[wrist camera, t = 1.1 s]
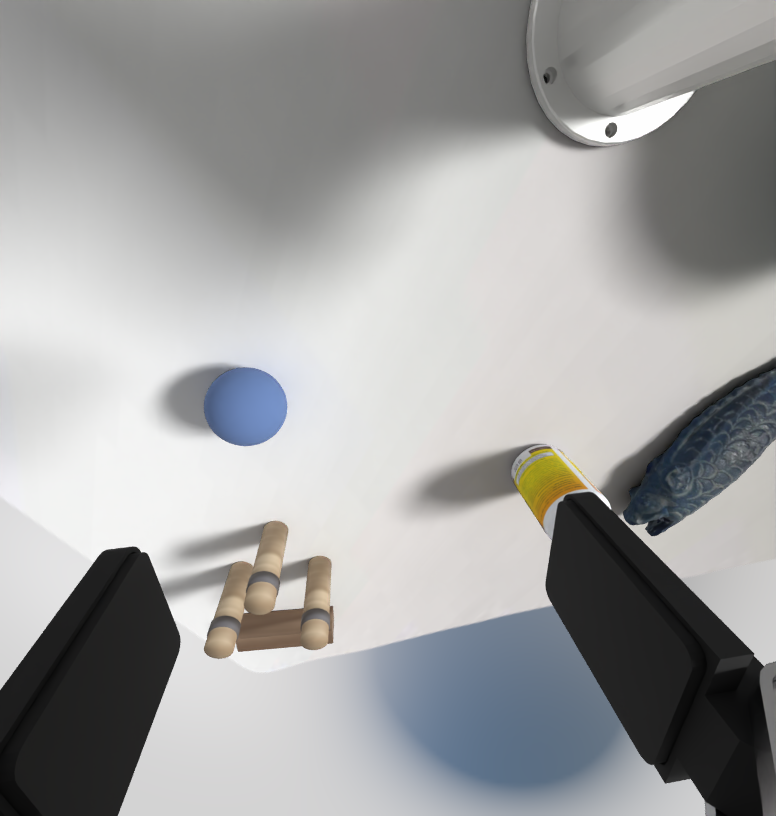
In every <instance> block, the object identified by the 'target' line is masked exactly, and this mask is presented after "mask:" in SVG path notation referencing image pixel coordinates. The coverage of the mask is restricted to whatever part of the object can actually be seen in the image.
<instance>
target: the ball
mask: <svg viewBox="0 0 776 816" xmlns="http://www.w3.org/2000/svg"><path fill="white" fill-rule="evenodd" d="M204 413H205V417H206V420H207V422H208V424H209V426H210V428H211V429H212V430H213V432H214V433H215V434H216V435H217V436H219V437H220V438H221V439H223V440H225V441H227V442H229V443H231V444H235V445H240V446H252V445H257V444H260V443H263V442H265V441H267V440H268V439H270V438H271V437H273V436H274V435H275V434H276V433H277V432H278V431H279V429H280V428H281V427H282V425H283V423H284V420H285V418H286V414H287V400H286V396H285V393H284V391H283V389H282V387H281V386H280V384H279V383H278V382H277V381H276V379H274V378H273V377H272V376H271V375H269V374H268V373H266V372H264V371H261V370H259V369H255V368H236V369H233V370H230V371H227V372H225V373H223V374H222V375H220V376H219V377H218V378H217V379H216V380H215V381H214V382H213V383H212V384H211V386H210V387H209V389H208V391H207V393H206V396H205V401H204Z"/></svg>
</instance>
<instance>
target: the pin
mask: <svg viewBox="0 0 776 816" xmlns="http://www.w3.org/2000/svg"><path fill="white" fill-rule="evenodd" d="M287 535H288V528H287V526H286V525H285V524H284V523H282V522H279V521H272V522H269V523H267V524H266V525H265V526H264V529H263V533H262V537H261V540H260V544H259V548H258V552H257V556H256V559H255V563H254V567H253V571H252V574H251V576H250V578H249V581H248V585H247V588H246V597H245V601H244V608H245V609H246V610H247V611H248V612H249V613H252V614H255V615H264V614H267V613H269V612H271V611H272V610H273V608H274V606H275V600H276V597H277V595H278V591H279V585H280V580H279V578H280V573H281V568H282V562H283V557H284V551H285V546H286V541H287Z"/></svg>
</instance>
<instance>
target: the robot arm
mask: <svg viewBox="0 0 776 816" xmlns="http://www.w3.org/2000/svg"><path fill="white" fill-rule="evenodd" d="M526 40H527V63H528V68H529V74H530V79H531V84H532V87H533V89H534V92H535V95H536V98H537V100H538V103H539V104H540V106H541V108H542V109H543V111H544V113H545V114H546V116H547V118H548V119H549V120H550V121H551V122H552V123H553V124H554V125H555V126H556V128H557V129H558V130H559V131H561V132H562V133H564V134H565V135H567V136H568V137H570V138H571V139H573V140H575V141H578V142H581V143H584V144H586V145H592V146H604V147H605V146H612V145H618V144H623V143H626V142H629V141H633V140H636V139H639V138H641V137H643V136H645V135H647V134H649V133H651V132H653V131H655V130H656V129H658V128H659V127H660V126H662V125H663V124H664V123H666V122H667V121H668V120H670V119H671V118H672V117H673V116H674V115H675V114H676V113H677V112H678V111H679V110H680V109H681V108H682V107H683V106H684V105H685V104H686V103H687V102H688V101H689V99H690V98H691V97H692V96H693V94H694V93H695V92H696V90H697V89H699V88H702V87H705V86H707V85H710V84H712V83H715V82H718V81H720V80H723V79H726V78H728V77H731V76H734V75H736V74H739V73H742V72H744V71H747V70H750V69H752V68H755V67H758V66H760V65H763V64H766V63H768V62H771V61H774V60H776V0H532V2H531V6H530V10H529V18H528V27H527V35H526ZM543 76H546V78H547V83H545V81H544V78H543ZM605 130H606V135H605ZM546 591H547V595H548V597H549V599H550V601H551V603H552V605H553V606H554V608H555V610H556V612H557V613H558V615H559V617H560V618H561V620H562V622H563V624H564V625H565V627H566V629H567V630H568V632H569V634H570V635H571V637H572V639H573V640H574V642H575V644H576V646H577V648H578V649H579V651H580V653H581V654H582V656H583V658H584V659H585V661H586V663H587V665H588V666H589V668H590V670H591V672H592V673H593V675H594V677H595V678H596V680H597V682H598V684H599V685H600V687H601V689H602V690H603V692H604V694H605V696H606V697H607V699H608V701H609V702H610V704H611V706H612V708H613V709H614V711H615V713H616V714H617V716H618V718H619V720H620V721H621V723H622V725H623V727H624V728H625V730H626V731H627V733H628V735H629V737H630V739H631V740H632V742H633V743H634V745H635V747H636V749H637V751H638V752H639V754H640V755H641V757H642V758H643V759H644V760H645V761H646V762H647V763H648V764H650V765H654V766H655V767H656V769H657V771H658V772H659V774H660V776H661V777H662V779H663V781H664V782H665V783H671V782H676V781H681V780H686V779H691V780H692V781H693V783H694V784H695V786H696V787H697V789H698V791H699V792H700V794H701V795H702V797H703V798H704V800H705V815H706V816H776V662H773V663H769V664H766V665H765V667H764V666H763V665H762V664H761V663H760V662H759V661H758V660H757V659H756V658H755V657H754V653H753V652H752V651H751V650H750V649H749V648H748V647H747V646H746V645H745V644H744V643H743V642H742V641H741V640H740V639H739V638H738V637H737V636H736V635H735V634H734V633H733V632H732V631H731V630H730V629H729V628H728V627H727V626H726V625H725V624H724V623H723V622H722V621H721V620H720V619H719V618H718V617H717V616H716V615H715V614H714V613H713V612H712V611H711V610H710V609H709V608H708V607H707V606H706V605H705V604H704V603H703V602H702V601H701V600H700V599H699V598H698V597H697V596H696V595H695V594H694V593H693V592H692V591H691V590H690V589H689V588H688V587H687V586H686V584H684V582H683V581H682V580H681V579H680V578H679V577H678V576H677V575H676V574H675V573H674V572H673V571H672V570H671V569H670V568H669V567H668V566H667V565H666V564H665V563H664V562H663V561H662V560H661V559H660V558H659V557H658V556H657V555H656V554H655V553H654V552H653V551H652V550H651V549H650V548H649V547H648V546H647V545H646V544H645V543H644V542H643V541H642V540H641V539H640V538H639V537H638V536H637V535H636V534H635V533H634V532H633V531H632V530H631V529H630V528H629V527H628V526H627V525H626V524H625V523H624V522H623V521H622V520H621V519H620V518H619V517H618V516H617V515H616V514H615V513H614V512H613V511H612V510H611V509H610V508H609V507H608V506H607V505H606V504H605V503H604V502H603V501H602V500H601V499H600V498H599V497H598V496H597V495H596V494H595V493H593V492H590V491H589V492H581V493H573V494H567V495H565V497H564V499H563V501H560V502H559V503H558V505H557V511H556V517H555V524H554V530H553V537H552V544H551V550H550V557H549V563H548V570H547V577H546ZM179 648H180V635H179V632H178V629H177V627H176V624H175V622H174V619H173V617H172V614H171V611H170V609H169V606H168V604H167V601H166V599H165V596H164V594H163V591H162V589H161V586H160V583H159V581H158V578H157V576H156V573H155V571H154V568H153V566H152V563H151V561H150V558H149V556H148V554H147V553H145V552H142V553H141V551H140V550H139V549H138V548H137V547H126V548H117V549H109V550H105V551H103V552H102V553H101V554H100V555H99V556H98V558H97V559H96V561H95V562H94V563H93V565H92V566H91V567H90V569H89V570H88V571H87V573H86V574H85V576H84V577H83V578H82V580H81V581H80V583H79V584H78V585H77V586H76V588H75V589H74V591H73V592H72V593H71V595H70V596H69V597H68V599H67V600H66V601H65V603H64V604H63V606H62V607H61V608H60V610H59V611H58V612H57V614H56V615H55V616H54V618H53V619H52V621H51V622H50V623H49V625H48V626H47V627H46V629H45V630H44V631H43V633H42V634H41V636H40V637H39V638H38V640H37V641H36V642H35V644H34V645H33V646H32V648H31V649H30V650H29V652H28V653H27V655H26V656H25V657H24V659H23V660H22V661H21V663H20V664H19V665H18V667H17V668H16V670H15V671H14V672H13V674H12V675H11V676H10V678H9V679H8V680H7V682H6V683H5V685H4V686H3V687H2V689H1V690H0V816H118V814H119V811H120V808H121V806H122V803H123V800H124V797H125V795H126V792H127V790H128V787H129V784H130V782H131V779H132V776H133V773H134V771H135V768H136V766H137V763H138V760H139V758H140V755H141V752H142V749H143V747H144V744H145V741H146V739H147V736H148V733H149V731H150V728H151V725H152V723H153V720H154V717H155V714H156V712H157V709H158V707H159V704H160V701H161V699H162V696H163V693H164V691H165V688H166V685H167V682H168V680H169V677H170V675H171V672H172V669H173V667H174V664H175V661H176V658H177V656H178V653H179Z"/></svg>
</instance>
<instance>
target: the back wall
mask: <svg viewBox="0 0 776 816" xmlns="http://www.w3.org/2000/svg"><path fill="white" fill-rule="evenodd" d="M303 610H304V609H294V610H282V611H271V612H269V613H267V614H264V615H255V614H252V613H245V614H243V616H242V620H241V628H240V632H239V636H238V639H237V641H236V645H237V649H238V652H242V651H253V650H264V649H275V648H286V647H297V646H302V645H301V643H300V638H301V630H300V627H301V618H302V615H303ZM329 614H330V630H329V634H328V643H327V644H330V643H333V629H334V614H333V606H331V607H330V610H329Z"/></svg>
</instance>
